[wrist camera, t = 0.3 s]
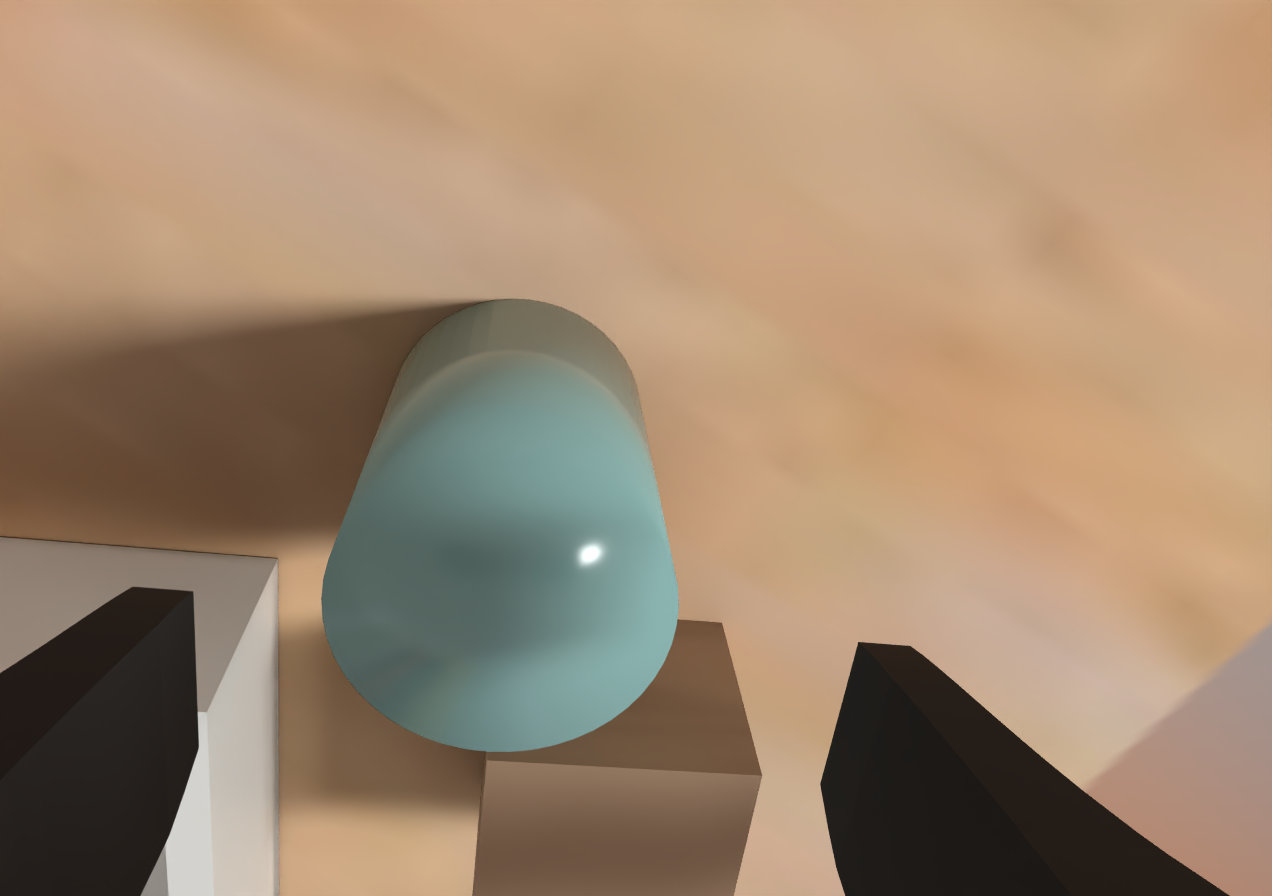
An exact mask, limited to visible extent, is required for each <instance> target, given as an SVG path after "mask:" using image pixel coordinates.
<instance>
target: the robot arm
mask: <svg viewBox="0 0 1272 896" xmlns="http://www.w3.org/2000/svg"><path fill="white" fill-rule="evenodd" d="M198 749H199V733H198V705H197V677H196V650H195V622H194V594H193V591H185V590H172V589H159V588H145V587H131V588H129V589H128V590H126V591H124V592H123V593H121V594H119V595H118V596H116V597H114V598H113V599H111V600H110V601H108V602H107V603H105V604H104V605H102V606H101V607H99V608H98V609H96V610H95V611H93V612H92V613H90V614H89V615H87V616H86V617H84V618H83V619H81V620H80V621H78V622H77V623H75V624H74V625H72V626H71V627H69V628H68V629H66V630H65V631H63V632H62V633H60V634H59V635H57V636H56V637H54V638H53V639H51V640H50V641H48V642H47V643H45V644H44V645H42V646H41V647H39V648H38V649H36V650H35V651H33V652H32V653H30V654H29V655H27V656H26V657H24V658H22V659H21V660H19V661H18V662H16V663H15V664H13V665H12V666H10V667H9V668H7V669H6V670H4V671H2V672H1V673H0V896H141V894H142V892H143V890H144V888H145V886H146V883H147V881H148V879H149V877H150V875H151V873H152V871H153V869H154V867H155V865H156V863H157V861H158V859H159V857H160V854H161V852H162V850H163V848H164V846H165V844H166V842H167V840H168V837H169V835H170V832H171V830H172V827H173V824H174V821H175V818H176V815H177V812H178V810H179V807H180V804H181V801H182V798H183V795H184V792H185V789H186V786H187V783H188V780H189V777H190V774H191V771H192V768H193V765H194V762H195V759H196V755H197V752H198ZM820 785H821V791H822V796H823V802H824V807H825V813H826V819H827V824H828V830H829V835H830V839H831V844H832V849H833V854H834V858H835V863H836V868H837V871H838V874H839V877H840V880H841V884H842V887H843V890H844V893H845V896H1229V895H1228V894H1226V893H1224V892H1223V891H1222V890H1220V889H1219V888H1217V887H1216V886H1214V885H1213V884H1211V883H1210V882H1208V881H1207V880H1205V879H1204V878H1202V877H1201V876H1199V875H1198V874H1196V873H1195V872H1193V871H1192V870H1190V869H1189V868H1188V867H1186V866H1184V865H1183V864H1182V863H1180V862H1179V861H1177V860H1176V859H1174V858H1172V857H1171V856H1169V855H1168V854H1167V853H1165V852H1164V851H1162V850H1161V849H1160V848H1158V847H1157V846H1155V845H1154V844H1153V843H1151V842H1150V841H1148V840H1147V839H1146V838H1144V837H1143V836H1142V835H1140V834H1139V833H1137V832H1136V831H1135V830H1133V829H1132V828H1131V827H1129V826H1128V825H1127V824H1126V823H1124V822H1123V821H1122V820H1120V819H1119V818H1118V817H1116V816H1115V815H1114V814H1113V813H1111V812H1110V811H1109V810H1107V809H1106V808H1105V807H1103V806H1102V805H1101V804H1099V803H1098V802H1097V801H1096V800H1094V799H1093V798H1092V797H1090V796H1089V795H1088V794H1086V793H1085V792H1084V791H1083V790H1081V789H1080V788H1079V787H1078V786H1076V785H1075V784H1074V783H1073V782H1072V781H1070V780H1069V779H1068V778H1067V777H1065V776H1064V775H1063V774H1062V773H1060V772H1059V771H1058V770H1057V769H1055V768H1054V767H1053V766H1052V765H1051V764H1049V763H1048V762H1047V761H1046V760H1045V759H1043V758H1042V757H1041V756H1040V755H1039V754H1037V753H1036V752H1035V751H1034V750H1033V749H1032V748H1030V747H1029V746H1028V745H1027V744H1026V743H1025V742H1023V741H1022V740H1021V739H1020V738H1019V737H1017V736H1016V735H1015V734H1014V733H1013V732H1012V731H1011V730H1009V729H1008V728H1007V727H1006V726H1005V725H1004V724H1002V723H1001V722H1000V721H999V720H998V719H997V718H995V717H994V716H993V715H992V714H991V713H990V712H989V711H987V710H986V709H985V708H984V707H983V706H982V705H981V704H979V703H978V702H977V701H976V700H975V699H974V698H973V697H971V696H970V695H969V694H968V693H967V692H966V691H965V690H963V689H962V688H961V687H960V686H959V685H958V684H957V683H955V682H954V681H953V680H952V679H951V678H950V677H948V676H947V675H946V674H945V673H944V672H943V671H941V670H940V669H939V668H938V667H937V666H935V665H934V664H933V663H932V662H930V661H929V660H928V659H927V658H926V657H924V656H923V655H922V654H920V653H919V652H918V651H916V650H915V649H914V648H912V647H911V646H903V645H890V644H877V643H864V642H858V646H857V649H856V653H855V657H854V661H853V664H852V668H851V672H850V676H849V679H848V683H847V687H846V690H845V694H844V698H843V702H842V705H841V709H840V713H839V717H838V720H837V724H836V728H835V731H834V735H833V739H832V743H831V746H830V750H829V754H828V758H827V761H826V765H825V769H824V772H823V776H822V780H821V784H820Z"/></svg>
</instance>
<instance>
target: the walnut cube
mask: <svg viewBox="0 0 1272 896" xmlns="http://www.w3.org/2000/svg"><path fill="white" fill-rule="evenodd" d="M761 778H762V774H761V770H760V766H759V762H758V758H757V755H756V751H755V747H754V743H753V739H752V736H751V732H750V728H749V724H748V720H747V716H746V713H745V709H744V705H743V701H742V697H741V694H740V690H739V686H738V682H737V678H736V675H735V671H734V667H733V663H732V659H731V656H730V652H729V648H728V644H727V640H726V636H725V633H724V629H723V625H722V623H717V622H704V621H690V620H677V626H676V630H675V634H674V638H673V642H672V645H671V647H670V650H669V652H668V654H667V657H666V659H665V661H664V663H663V665H662V667H661V668H660V670H659V672H658V673H657V675H656V677H655V678H654V680H653V681H652V682H651V683H650V685H649V686H648V687H647V688H646V689H645V691H644V692H643V693H642V694H641V695H640V696H639V697H638V698H637V699H636V700H635V701H634V702H633V703H632V704H631V705H630V706H629V707H628V708H627V709H625V710H624V711H623V712H621V713H620V714H619V715H617V716H616V717H615V718H613V719H612V720H610V721H609V722H607V723H605V724H604V725H602V726H600V727H598V728H597V729H595V730H593V731H591V732H589V733H586V734H584V735H582V736H580V737H577V738H575V739H572V740H569V741H566V742H563V743H560V744H557V745H553V746H548V747H544V748H539V749H534V750H525V751H515V752H487V751H485V755H484V765H483V776H482V786H481V798H480V810H479V822H478V834H477V846H476V858H475V870H474V882H473V894H472V896H734V892H735V887H736V883H737V879H738V875H739V871H740V866H741V862H742V858H743V854H744V849H745V845H746V841H747V837H748V833H749V828H750V824H751V820H752V816H753V812H754V807H755V803H756V799H757V795H758V791H759V786H760V782H761Z"/></svg>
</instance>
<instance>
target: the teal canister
mask: <svg viewBox="0 0 1272 896" xmlns="http://www.w3.org/2000/svg"><path fill="white" fill-rule="evenodd" d="M321 600H322V616H323V623H324V627H325V632H326V636H327V640H328V642H329V645H330V648H331V650H332V653H333V655H334V658H335V659H336V661H337V663H338V665H339V666H340V668H341V670H342V672H343V673H344V675H345V676H346V678H347V679H348V680H349V682H350V683H351V684H352V685H353V687H354V688H355V689H356V691H357V692H358V693H359V694H360V695H361V696H362V697H363V698H364V699H365V700H366V701H367V702H368V703H369V704H370V705H371V706H373V707H374V708H375V709H377V710H378V711H379V712H380V713H382V714H383V715H384V716H386V717H387V718H388V719H390V720H392V721H393V722H395V723H397V724H398V725H400V726H402V727H403V728H405V729H407V730H409V731H411V732H413V733H416V734H418V735H420V736H422V737H424V738H427V739H430V740H433V741H436V742H439V743H442V744H445V745H449V746H454V747H459V748H463V749H468V750H478V751H487V752H515V751H525V750H534V749H539V748H544V747H548V746H553V745H557V744H560V743H563V742H566V741H569V740H572V739H575V738H577V737H580V736H582V735H584V734H586V733H589V732H591V731H593V730H595V729H597V728H598V727H600V726H602V725H604V724H605V723H607V722H609V721H610V720H612V719H613V718H615V717H616V716H617V715H619V714H620V713H621V712H623V711H624V710H625V709H627V708H628V707H629V706H630V705H631V704H632V703H633V702H634V701H635V700H636V699H637V698H638V697H639V696H640V695H641V694H642V693H643V692H644V691H645V689H646V688H647V687H648V686H649V685H650V683H651V682H652V681H653V680H654V678H655V677H656V675H657V673H658V672H659V670H660V668H661V667H662V665H663V663H664V661H665V659H666V657H667V654H668V652H669V650H670V647H671V645H672V642H673V638H674V634H675V630H676V626H677V618H678V608H679V602H678V586H677V581H676V576H675V571H674V566H673V561H672V556H671V551H670V546H669V541H668V537H667V532H666V527H665V522H664V517H663V512H662V507H661V502H660V497H659V492H658V487H657V482H656V477H655V472H654V468H653V463H652V458H651V453H650V448H649V443H648V438H647V433H646V428H645V423H644V418H643V413H642V408H641V403H640V399H639V394H638V389H637V385H636V382H635V379H634V377H633V374H632V371H631V369H630V368H629V366H628V364H627V362H626V360H625V358H624V357H623V355H622V354H621V352H620V351H619V350H618V348H617V347H616V345H615V344H614V343H613V342H612V341H611V340H610V339H609V338H608V337H607V336H606V335H605V334H604V333H603V332H602V331H601V330H599V329H598V328H597V327H596V326H594V325H593V324H592V323H590V322H589V321H587V320H586V319H584V318H582V317H581V316H579V315H577V314H575V313H573V312H571V311H569V310H566V309H564V308H562V307H559V306H555V305H552V304H549V303H545V302H540V301H534V300H525V299H504V300H494V301H489V302H484V303H479V304H476V305H473V306H470V307H467V308H465V309H462V310H460V311H458V312H456V313H454V314H452V315H450V316H448V317H446V318H445V319H444V320H442V321H441V322H439V323H438V324H436V325H435V326H433V327H432V328H431V329H430V330H429V331H428V332H427V333H426V334H425V335H424V336H422V338H421V339H420V340H419V341H418V342H417V344H416V345H415V346H414V347H413V348H412V350H411V351H410V353H409V355H408V356H407V358H406V359H405V361H404V363H403V365H402V367H401V370H400V372H399V374H398V377H397V379H396V382H395V385H394V387H393V390H392V393H391V395H390V398H389V400H388V403H387V406H386V408H385V411H384V414H383V416H382V419H381V422H380V424H379V427H378V430H377V432H376V435H375V438H374V440H373V443H372V446H371V448H370V451H369V453H368V456H367V459H366V461H365V464H364V467H363V469H362V472H361V475H360V477H359V480H358V483H357V485H356V488H355V491H354V493H353V496H352V499H351V501H350V504H349V506H348V509H347V512H346V514H345V517H344V520H343V522H342V525H341V528H340V530H339V533H338V536H337V538H336V541H335V544H334V546H333V549H332V552H331V554H330V557H329V559H328V563H327V567H326V571H325V575H324V579H323V588H322V598H321Z"/></svg>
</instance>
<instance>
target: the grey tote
mask: <svg viewBox="0 0 1272 896" xmlns="http://www.w3.org/2000/svg"><path fill="white" fill-rule="evenodd" d="M131 587H145V588H159V589H172V590H185V591H193V594H194V622H195V650H196V677H197V705H198V733H199V749H198V752H197V755H196V759H195V762H194V765H193V768H192V771H191V774H190V777H189V780H188V783H187V786H186V789H185V792H184V795H183V798H182V801H181V804H180V807H179V810H178V812H177V815H176V818H175V821H174V824H173V827H172V830H171V832H170V835H169V837H168V840H167V842H166V844H165V846H164V848H163V850H162V852H161V854H160V857H159V859H158V861H157V863H156V865H155V867H154V869H153V871H152V873H151V875H150V877H149V879H148V881H147V883H146V886H145V888H144V890H143V892H142V894H141V896H279V695H278V559H275V558H262V557H249V556H236V555H224V554H211V553H198V552H185V551H172V550H160V549H147V548H134V547H121V546H109V545H96V544H83V543H70V542H57V541H45V540H32V539H19V538H6V537H0V673H1V672H2V671H4V670H6V669H7V668H9V667H10V666H12V665H13V664H15V663H16V662H18V661H19V660H21V659H22V658H24V657H26V656H27V655H29V654H30V653H32V652H33V651H35V650H36V649H38V648H39V647H41V646H42V645H44V644H45V643H47V642H48V641H50V640H51V639H53V638H54V637H56V636H57V635H59V634H60V633H62V632H63V631H65V630H66V629H68V628H69V627H71V626H72V625H74V624H75V623H77V622H78V621H80V620H81V619H83V618H84V617H86V616H87V615H89V614H90V613H92V612H93V611H95V610H96V609H98V608H99V607H101V606H102V605H104V604H105V603H107V602H108V601H110V600H111V599H113V598H114V597H116V596H118V595H119V594H121V593H123V592H124V591H126V590H128V589H129V588H131Z"/></svg>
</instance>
